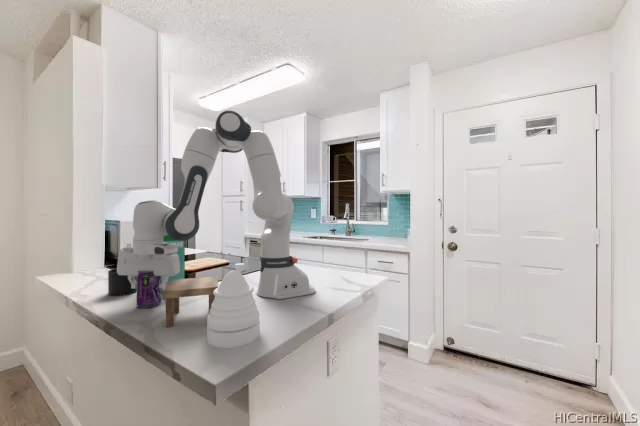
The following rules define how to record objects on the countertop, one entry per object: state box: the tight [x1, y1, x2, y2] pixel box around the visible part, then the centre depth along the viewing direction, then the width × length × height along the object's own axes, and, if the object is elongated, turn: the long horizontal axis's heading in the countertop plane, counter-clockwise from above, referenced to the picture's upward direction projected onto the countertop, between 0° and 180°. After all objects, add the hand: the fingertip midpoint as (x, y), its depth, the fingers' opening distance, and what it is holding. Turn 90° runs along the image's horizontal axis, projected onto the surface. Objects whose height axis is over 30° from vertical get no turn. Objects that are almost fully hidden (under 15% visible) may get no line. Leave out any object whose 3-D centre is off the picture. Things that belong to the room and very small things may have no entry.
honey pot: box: [206, 262, 261, 349], centre depth 72 cm, size 13×13×18 cm
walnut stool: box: [162, 276, 219, 328], centre depth 85 cm, size 14×14×10 cm
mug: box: [107, 268, 137, 297], centre depth 110 cm, size 9×12×9 cm
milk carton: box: [161, 235, 186, 294], centre depth 115 cm, size 9×9×25 cm
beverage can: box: [136, 271, 162, 309], centre depth 95 cm, size 7×7×12 cm
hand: (148, 288), depth 96 cm, fingers open, 8 cm apart
